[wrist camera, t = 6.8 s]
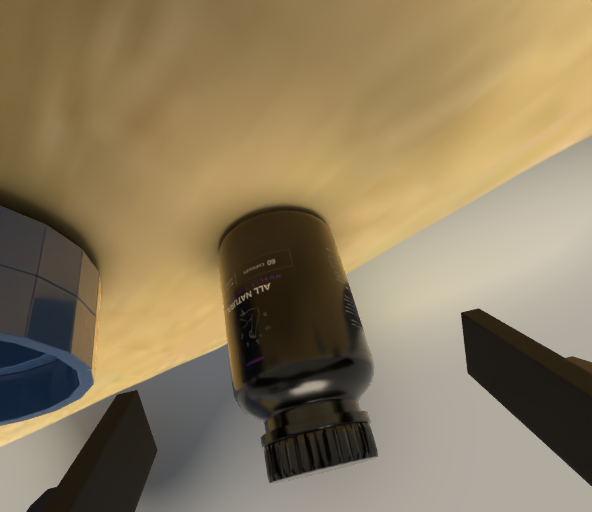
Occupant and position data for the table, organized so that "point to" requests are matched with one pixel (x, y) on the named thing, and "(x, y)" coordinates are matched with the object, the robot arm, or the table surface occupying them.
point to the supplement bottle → (296, 344)
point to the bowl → (44, 319)
